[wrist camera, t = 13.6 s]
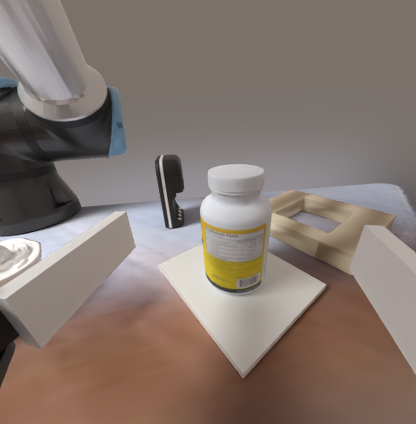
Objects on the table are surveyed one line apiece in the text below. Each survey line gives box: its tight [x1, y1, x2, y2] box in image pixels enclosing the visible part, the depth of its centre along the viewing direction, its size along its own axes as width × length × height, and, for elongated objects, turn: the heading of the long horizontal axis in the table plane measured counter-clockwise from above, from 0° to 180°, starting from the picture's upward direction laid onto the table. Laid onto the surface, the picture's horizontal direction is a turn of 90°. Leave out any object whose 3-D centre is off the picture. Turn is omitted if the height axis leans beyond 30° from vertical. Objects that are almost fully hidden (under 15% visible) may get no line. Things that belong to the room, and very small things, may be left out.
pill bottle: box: [200, 164, 272, 295], centre depth 18 cm, size 6×6×12 cm
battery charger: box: [155, 155, 184, 228], centre depth 32 cm, size 7×4×11 cm, turn 8°
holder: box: [268, 190, 395, 276], centre depth 30 cm, size 16×14×2 cm
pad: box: [158, 244, 326, 378], centre depth 21 cm, size 14×12×1 cm
